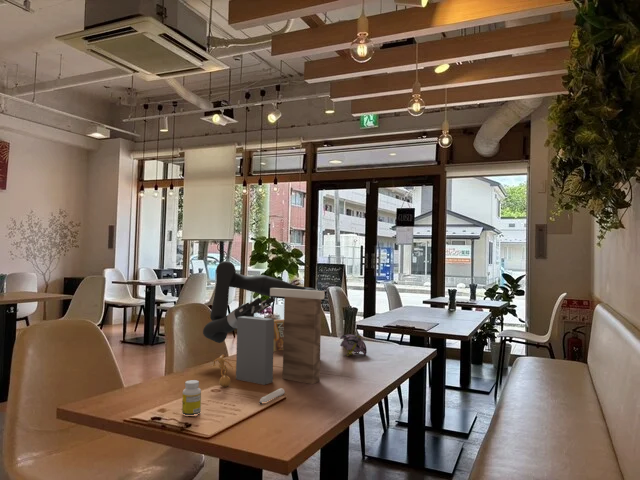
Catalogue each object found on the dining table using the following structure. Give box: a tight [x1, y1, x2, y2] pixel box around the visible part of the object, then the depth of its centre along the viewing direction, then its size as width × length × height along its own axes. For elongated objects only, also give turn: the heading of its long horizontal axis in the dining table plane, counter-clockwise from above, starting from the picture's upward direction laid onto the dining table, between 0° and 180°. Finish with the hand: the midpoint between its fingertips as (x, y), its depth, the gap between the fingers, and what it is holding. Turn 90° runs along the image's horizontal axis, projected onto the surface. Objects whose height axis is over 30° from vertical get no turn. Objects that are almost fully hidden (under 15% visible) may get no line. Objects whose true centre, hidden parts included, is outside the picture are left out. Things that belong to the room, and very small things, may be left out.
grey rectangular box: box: [235, 316, 275, 386], centre depth 188 cm, size 5×14×24 cm, turn 59°
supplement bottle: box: [181, 379, 202, 415], centre depth 146 cm, size 5×5×10 cm
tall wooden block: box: [282, 297, 322, 385], centre depth 190 cm, size 5×14×32 cm, turn 59°
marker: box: [258, 387, 285, 403], centre depth 163 cm, size 3×2×16 cm
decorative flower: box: [339, 333, 368, 357], centre depth 239 cm, size 15×12×15 cm
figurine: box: [213, 354, 234, 388], centre depth 177 cm, size 8×6×12 cm
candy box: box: [273, 318, 284, 352], centre depth 250 cm, size 9×4×15 cm, turn 129°
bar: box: [270, 288, 326, 300], centre depth 193 cm, size 3×24×3 cm, turn 59°
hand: (267, 299), depth 200 cm, fingers open, 8 cm apart
